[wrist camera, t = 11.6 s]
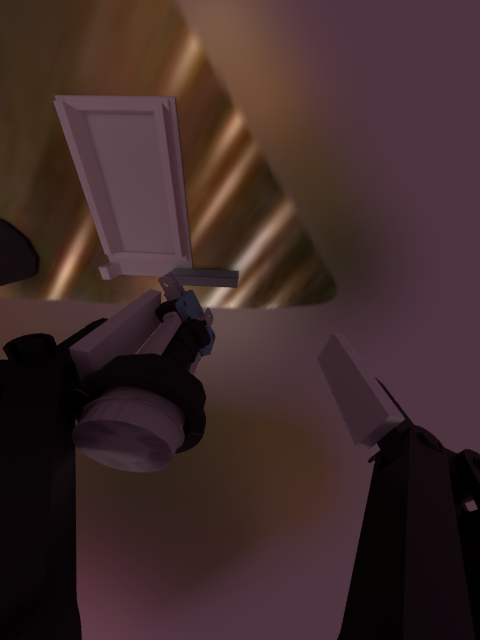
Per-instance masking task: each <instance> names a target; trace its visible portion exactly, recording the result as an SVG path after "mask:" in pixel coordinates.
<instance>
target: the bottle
mask: <svg viewBox="0 0 480 640" xmlns="http://www.w3.org/2000/svg"><path fill="white" fill-rule="evenodd" d="M36 268H37V255H36V254H35V252H34V250H33V248H32V247H31V245H30V243H29V242H28V240H27V239H26V238H25V237H24V236H23V235H22V234H20V233H19V232H18V231H17V230H15V229H14V228H13V227H12V226H11V225H9V224H8V223H5V222H3V221H1V220H0V286H2V285H6V284H9V283H13V282H16V281H19V280H23V279H26V278H29V277H31V276H32V275H33V274H34V273H35V271H36Z"/></svg>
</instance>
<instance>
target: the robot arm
mask: <svg viewBox="0 0 480 640" xmlns="http://www.w3.org/2000/svg"><path fill="white" fill-rule="evenodd" d="M160 305H161V292H160V291H155V290H151V289H150V290H149V291H147V292H146V293H145V294H143V295H142V296H140V297H139V298H138V299H136V300H135V301H133V302H132V303H131V304H129V305H128V306H127V307H126V308H124V309H122V310H121V311H120V312H118V313H117V314H115V315H114V316H113V317H111V318H110V319H106V318H102V319H99V320H97V321H94V322H92V323H90V324H89V325H87V326H86V327H85V328H83V329H81V330H80V331H79V332H78V333H75V334H74V335H72V336H71V337H69V338H68V339H66V340H65V341H63V342H62V343H60V344H59V345H56V343H55V340H54V337H53V336H51V335H49V334H43V333H39V334H30V335H25V336H22V337H18V338H16V339H13V340H12V341H10V342H8V343H7V344H6V345H5V346H4V347H3V350H4V352H5V353H6V355H7V357H8V359H9V360H0V640H82V635H81V621H80V615H79V609H78V605H77V592H76V471H75V467H76V465H75V445H74V443H73V437H72V431H73V428H74V427H75V416H74V413H73V411H72V410H71V409H70V407H69V396H70V393H71V391H72V390H73V388H74V387H75V386H76V385H77V384H78V383H79V382H80V381H81V380H82V379H83V378H84V377H85V376H87V375H88V374H90V373H92V372H94V371H97V370H100V369H102V368H103V367H104V366H105V365H106V364H107V363H109V362H110V361H111V360H112V359H114V358H115V357H117V356H120V355H134V354H135V353H136V352H137V351H138V350H139V349H140V348H141V346H142V345H143V344H144V343H145V342H146V341H147V339H148V338H149V337H150V336H151V335H152V333H153V332H154V331H155V330H156V329H157V328H158V326H159V325H160V324H161V322H160V320H159V319H158V317H157V315H156V313H155V310H156V309H157V308H158V307H159V306H160ZM317 359H318V362H319V364H320V366H321V369H322V371H323V373H324V375H325V378H326V380H327V382H328V385H329V387H330V389H331V391H332V394H333V396H334V398H335V400H336V403H337V405H338V407H339V409H340V412H341V414H342V416H343V419H344V421H345V423H346V426H347V428H348V430H349V432H350V435H351V437H352V439H353V441H354V444H355V446H357V447H361V448H366V449H370V448H371V447H373V446H374V445H375V444H376V443H377V444H378V446H379V448H380V451H379V452H377V453H376V454H375V455H374V456H372V457H371V458H370V459H369V460H368V462H369V463H371V462H372V461H375V464H374V469H373V474H372V479H371V484H370V489H369V494H368V499H367V504H366V508H365V513H364V518H363V523H362V528H361V533H360V538H359V543H358V548H357V553H356V558H355V563H354V568H353V573H352V578H351V583H350V588H349V593H348V598H347V602H346V607H345V612H344V617H343V622H342V627H341V631H340V634H339V636H338V639H337V640H480V454H478V453H476V452H474V451H472V450H470V449H465V450H463V451H461V452H460V453H458V454H457V453H455V452H453V451H451V450H449V449H446V448H444V446H443V445H442V444H441V442H440V441H439V440H438V439H437V438H436V437H435V436H434V435H433V434H431V433H430V432H429V431H427V430H426V429H424V428H422V427H420V426H416V425H414V424H413V423H412V421H411V420H410V419H409V418H408V416H407V415H406V414H405V412H404V411H403V410H402V408H401V407H400V406H399V404H398V403H397V402H396V401H395V400H394V398H393V397H392V395H390V393H389V391H388V390H387V389H386V387H385V386H384V385H383V384H382V383H381V382H380V381H379V380H377V379H376V378H375V377H374V376H373V375H372V374H371V372H370V371H369V369H368V368H367V367H366V365H365V364H364V363H363V361H362V360H361V359H360V357H359V356H358V355H357V353H356V352H355V350H354V349H353V348H352V347H351V345H350V344H349V342H348V341H347V340H346V338H345V337H344V336H343V334H339V333H335V332H333V333H332V335H331V336H330V338H329V340H328V341H327V343H326V345H325V347H324V348H323V350H322V351H321V353H320V355H319V357H318V358H317ZM472 500H474V501H475V503H476V505H477V508H478V509H477V510H475V511H471V512H469V511H468V509H467V507H466V505H465V503H467V502H470V501H472Z"/></svg>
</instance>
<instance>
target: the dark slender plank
mask: <svg viewBox="0 0 480 640" xmlns="http://www.w3.org/2000/svg"><path fill="white" fill-rule="evenodd" d="M171 272H173V273H174V275H175V277H176V279H177V281H178V282H179V284H180V285H190V286H211V287H231V288H237V283H238V279H239V271H229V270H207V269H185V268H174V269H173V270H172V271H170V272H169V273H171ZM167 274H168V273H167ZM165 275H166V274H165ZM170 280H171V282H172V283H173V282H174V279H173V278H170ZM165 284H167V282H166V281H165Z"/></svg>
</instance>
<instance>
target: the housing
mask: <svg viewBox="0 0 480 640" xmlns="http://www.w3.org/2000/svg"><path fill="white" fill-rule="evenodd" d="M55 98H56V101H53V102H54V105H55V108H56V111H57V114H58V117H59V120H60V123H61V126H62V129H63V132H64V135H65V138H66V140H67V143H68V146H69V149H70V152H71V155H72V158H73V161H74V164H75V167H76V170H77V173H78V176H79V179H80V182H81V185H82V188H83V191H84V194H85V197H86V200H87V203H88V206H89V209H90V212H91V215H92V217H93V220H94V223H95V226H96V229H97V232H98V235H99V238H100V241H101V244H102V247H103V250H104V253H105V254H107V255H108V258H109V261H110V263H108V264H105V265H103V266H100V267H99V270H100V273H101V275H102V278H103V279H109V280H111V279H113V278H115V277H117V276H119V275H138V276H159V277H164V275H165V274H167V273H169V272H170V271H172V270H173V269H174V268H185V269H193V262H192V252H191V242H190V232H189V223H188V213H187V203H186V194H185V184H184V174H183V165H182V155H181V145H180V135H179V126H178V116H177V106H176V98H175V96H83V95H55Z"/></svg>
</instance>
